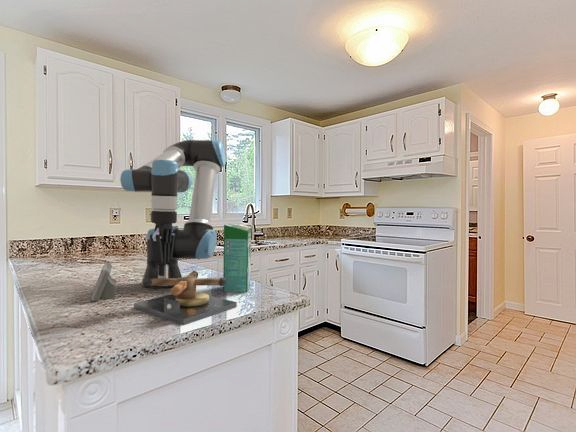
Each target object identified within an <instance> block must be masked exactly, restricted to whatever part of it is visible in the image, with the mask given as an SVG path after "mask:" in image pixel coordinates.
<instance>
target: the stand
mask: <svg viewBox="0 0 576 432" xmlns="http://www.w3.org/2000/svg"><path fill="white" fill-rule="evenodd" d="M237 305H238V302H237V301H233V300H229V299H226V298H221V297H216V296H213V295H209V302H208V303H206V304H203V305H199V306H180V301H176V296H174V295H173V294H172V293H170V294H168V295H163V296H158V297H154V298H151V299H146V300H142V301H141V300H140V301H138V302H134V303H133V309H135V310H138V311H142V312H143V313H147V314H150V315H153V316H156V317H159V318H161V319H165V320H167V321H171V322H174V323H176V324H179V325H182V326H184V325H185V326H186V325H187V324H190V323H193V322H197V321H199V320H203V319H206V318H209V317H212V316H215V315H217V314H220V313H222V312H227V311H229V310H232V309H234V308H238V306H237Z"/></svg>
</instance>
